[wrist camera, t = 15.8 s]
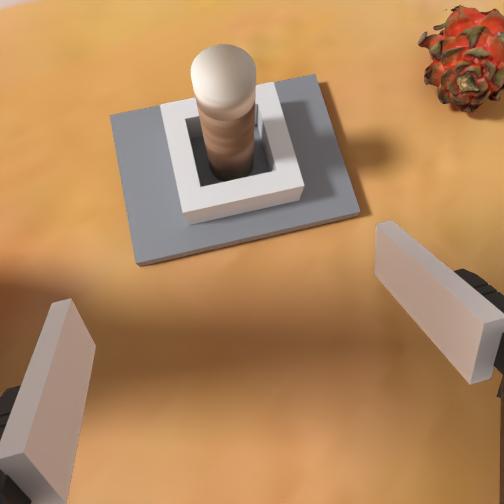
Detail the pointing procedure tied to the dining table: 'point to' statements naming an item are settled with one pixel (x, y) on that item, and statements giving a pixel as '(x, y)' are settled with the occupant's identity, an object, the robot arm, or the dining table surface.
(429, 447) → the dining table surface
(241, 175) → the cream round-topped cylinder
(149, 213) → the socket board
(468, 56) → the dragon fruit
